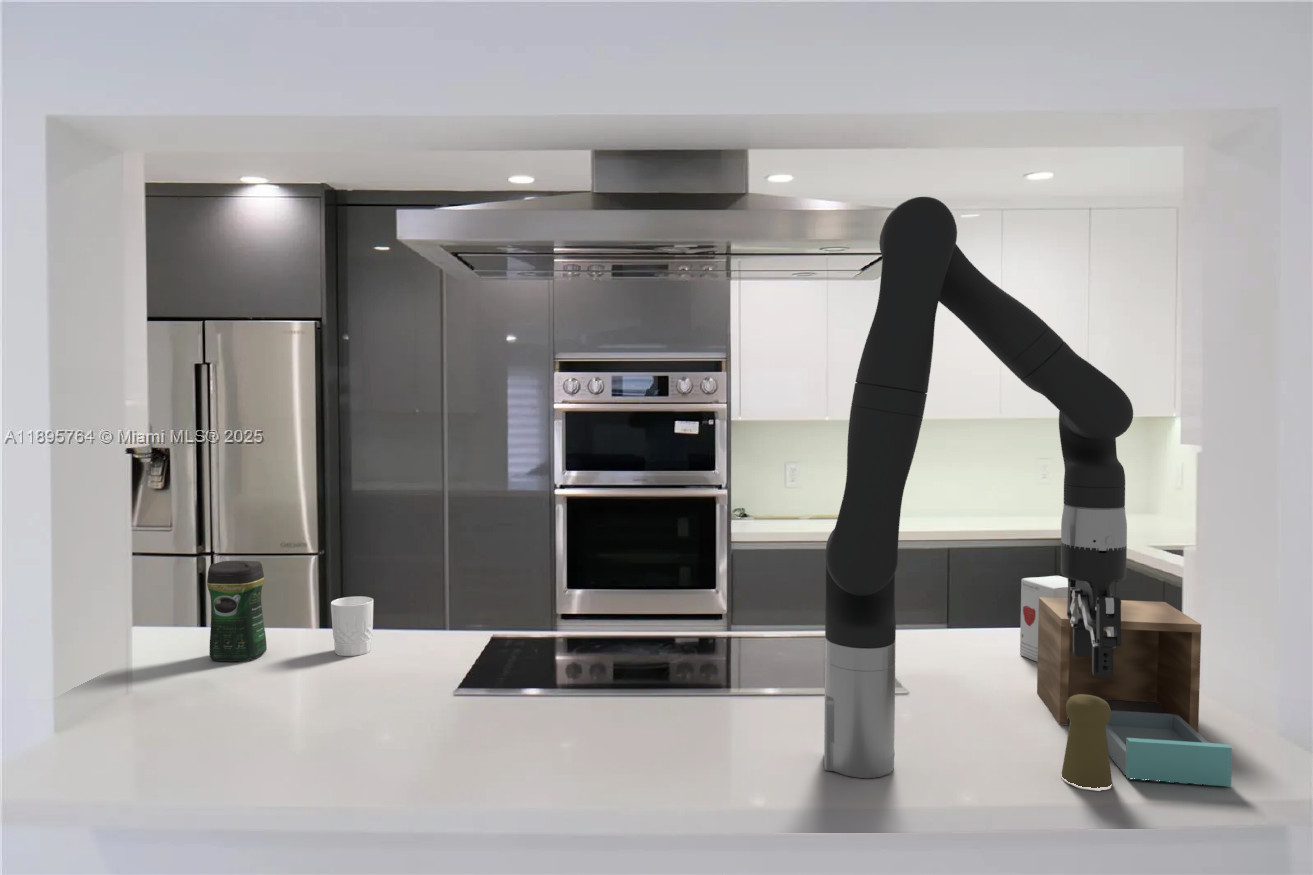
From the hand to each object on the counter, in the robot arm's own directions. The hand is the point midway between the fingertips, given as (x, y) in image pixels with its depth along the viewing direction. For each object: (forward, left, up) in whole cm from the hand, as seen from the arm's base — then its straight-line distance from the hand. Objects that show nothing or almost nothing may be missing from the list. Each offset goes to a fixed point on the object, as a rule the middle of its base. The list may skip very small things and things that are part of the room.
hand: (1091, 666), depth 113 cm
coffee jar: (-144, +29, -15) cm, 148 cm away
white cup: (-124, +36, -15) cm, 130 cm away
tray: (+11, +9, -15) cm, 21 cm away
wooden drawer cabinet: (+11, +27, -15) cm, 33 cm away
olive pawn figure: (0, 0, -15) cm, 15 cm away
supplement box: (+9, +54, -15) cm, 57 cm away
